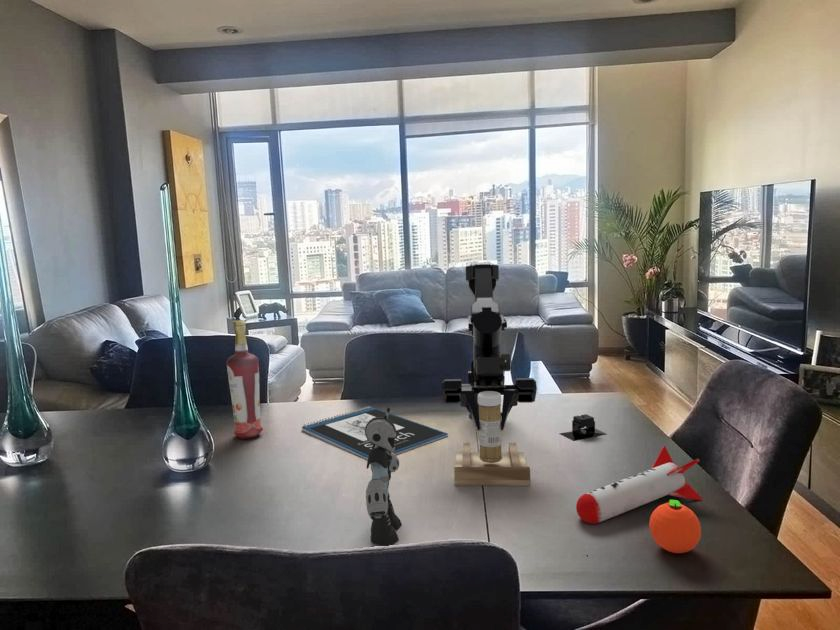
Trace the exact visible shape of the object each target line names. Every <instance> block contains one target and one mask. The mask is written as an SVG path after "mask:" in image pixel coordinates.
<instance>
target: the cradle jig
mask: <svg viewBox="0 0 840 630" xmlns="http://www.w3.org/2000/svg"><path fill="white" fill-rule="evenodd" d="M501 453H502V459H501V460H500V461H499V462H495V463H488V462H483V461H482V460H480V457H479V456H480V451H471V442H463V443H462V451H457V452H455V466H454V469H453V470H454V471H453V472H454V474H453V476H454V486H531V469H530V468H531V467H530V466H528V464H527V462H526V457H525V453H524V451H519V450H518V446H517V442H508V451H501Z"/></svg>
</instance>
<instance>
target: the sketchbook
mask: <svg viewBox="0 0 840 630" xmlns="http://www.w3.org/2000/svg"><path fill="white" fill-rule="evenodd" d="M385 414H386V411H385V410H382V409H378V408H375V407H372V406H369V405H368V406H365V407H362V408H358V409H355V410H351V411H347V412H344V413H341V414H336V415H334V416H330V417H326V418H323V419H319V420H316V421H313V422H312V421H311V422H310V423H307V424H306V423H304V424H303V425H302V427H301V431H302V432H304V433H307V434H308V435H311V436H313V437H315V438H317V439H320V440H322V441H325V442H326V443H329V444H331V445H333V446H335V447H338V448H341V449H343V450H344V451H347V452H348V453H352V454H353V455H356V456H358V457H360V458H363V459H365V460H368V457H369V453H370V452H371V450H372V447H373V444H374V443H372V442H371V441H370V440H367V438H366V436H365V428H366V425H367V423H368V422H369V421H370V420H371V419H373V418H375V417H384V416H385ZM388 419H389V420H390V421H391V422H392V423H394V426H395V428H396V437H395V441H394V447H395V450H394V452H393V453H394V454H395V455H396V456H397V455H400V454H402V453H405V452H408V451H410V450H414V449H416V448H419V447H421V446H425V445H427V444H430V443H432V442H435V441H438V440H441V439H444V438H447V437H448V436H449V434H448V433H447V432H444V431H442V430H439V429H436V428H433V427H431V426H427V425H424V424H423V423H419V422H416V421H413V420H411V419H407V418H405V417H401V416H398V415H397V414H396V415H395V414H393V413H390V412H389V416H388Z"/></svg>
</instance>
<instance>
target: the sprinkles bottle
mask: <svg viewBox="0 0 840 630" xmlns="http://www.w3.org/2000/svg"><path fill="white" fill-rule="evenodd" d="M478 405H479V431H478V437H479V438H478V440H479V452H480V456H479V457H480V460H482V461H483V462H488V463H495V462H499V461H500V460H501V459H502V453H501V452H502V440H503V439H502V435H503V434H502V430H501V417H502V415H501V412H502V411H501V412H500V406H501V407H502V395H501V394H500V393H499V392H495V391H484V392H480V393H479V394H478Z"/></svg>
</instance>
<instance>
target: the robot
mask: <svg viewBox="0 0 840 630" xmlns="http://www.w3.org/2000/svg"><path fill="white" fill-rule="evenodd" d="M390 411H391V408H390V407H387V409H386V411H385V412H386V414H385V416H384V417H375V418H373V419H371V420H370V421H369V422H368V423H367V425H366V428H365V436H366V438H367V440H370V441H371V442H372V443H374V444H373V447H372V450H371V452H370V453H369V457H368V460H367V459H366V460H367V461H366V469H367V470H368V469H369V468H370V470H371V473H372V474H371V480H370V481H368V483H367V486H366V491H365V500H366V503H365V504H366V511H367V514H368V516H369V518H370V519H371V525H370V526H371V527H370V540H371V543H372V544H375V545H378V546H383V547H384V546H385V547H386V546H393V545H394V544H395V543H397V542H398V541H399V540H400V539H399V537H398V534H397V532H396V530H399V529H400V527H402V525H403V524H402V521H401V519H400V518H399V517H398V516H397V515H396V513H395V509H394V506H393V503H392V500H391V499H390V496H391V495H390V493H389V485H390V481H391V477H392V473H395V472H396V471H397V470H399V467H400V460H399V457H398V456H397V455H395V454H394V453H393V452H394V450H395V447H394V441H395V437H396V428H395V426H394V423H392V422H391V421H390V420H389V419H388V416H389V413H390Z"/></svg>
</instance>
